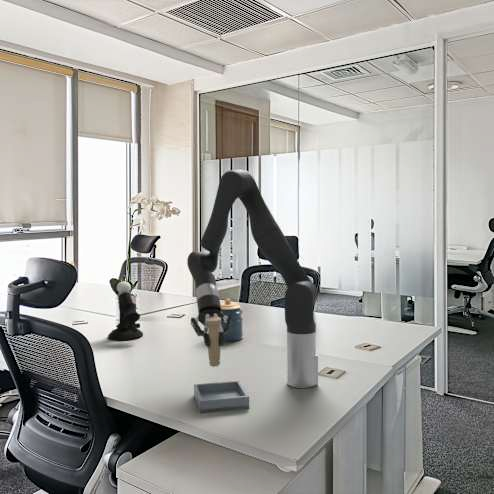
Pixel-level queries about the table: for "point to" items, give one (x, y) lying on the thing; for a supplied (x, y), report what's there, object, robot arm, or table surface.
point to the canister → (232, 320)
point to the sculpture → (126, 316)
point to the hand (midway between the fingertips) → (215, 345)
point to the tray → (220, 396)
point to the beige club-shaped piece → (213, 340)
